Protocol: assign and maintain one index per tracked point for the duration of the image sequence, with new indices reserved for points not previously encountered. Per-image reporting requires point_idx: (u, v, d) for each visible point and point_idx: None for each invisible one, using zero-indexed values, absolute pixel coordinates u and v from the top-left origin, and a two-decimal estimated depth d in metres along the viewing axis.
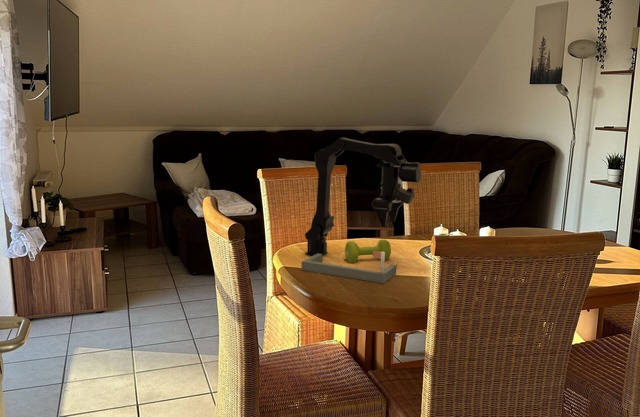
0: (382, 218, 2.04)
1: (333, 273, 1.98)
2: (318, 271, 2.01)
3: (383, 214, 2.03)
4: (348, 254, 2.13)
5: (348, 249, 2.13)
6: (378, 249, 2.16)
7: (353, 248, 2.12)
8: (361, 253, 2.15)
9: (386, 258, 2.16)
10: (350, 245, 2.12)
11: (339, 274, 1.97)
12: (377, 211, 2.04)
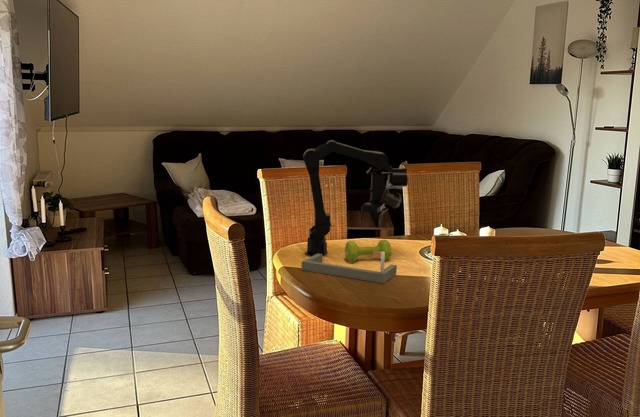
0: (375, 219, 2.22)
1: (333, 273, 1.98)
2: (318, 271, 2.01)
3: (376, 216, 2.21)
4: (347, 254, 2.13)
5: (347, 249, 2.13)
6: (378, 249, 2.16)
7: (353, 248, 2.12)
8: (361, 253, 2.15)
9: (386, 258, 2.16)
10: (349, 245, 2.13)
11: (339, 274, 1.97)
12: (371, 213, 2.21)
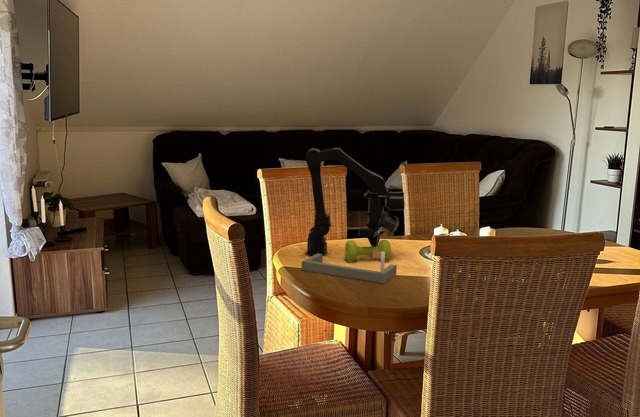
0: (373, 242, 2.22)
1: (333, 273, 1.98)
2: (318, 271, 2.01)
3: (374, 239, 2.21)
4: (346, 253, 2.14)
5: (347, 248, 2.14)
6: (378, 249, 2.16)
7: (352, 248, 2.13)
8: (360, 253, 2.15)
9: (386, 259, 2.16)
10: (348, 244, 2.13)
11: (339, 274, 1.97)
12: (368, 236, 2.21)
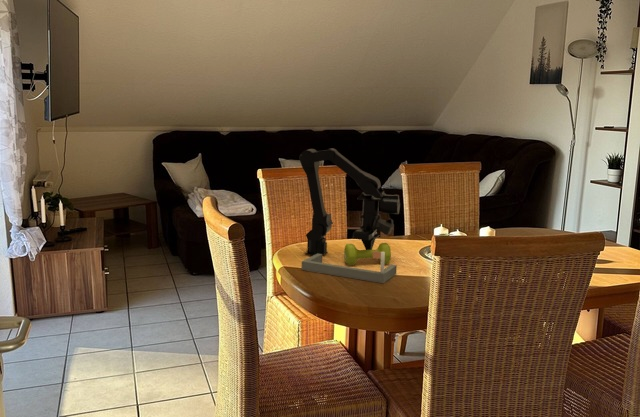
0: (367, 245, 2.17)
1: (333, 273, 1.98)
2: (318, 271, 2.01)
3: (368, 242, 2.16)
4: (346, 256, 2.10)
5: (346, 251, 2.09)
6: None
7: (351, 251, 2.08)
8: (360, 256, 2.11)
9: (386, 262, 2.11)
10: (348, 247, 2.09)
11: (339, 274, 1.97)
12: None
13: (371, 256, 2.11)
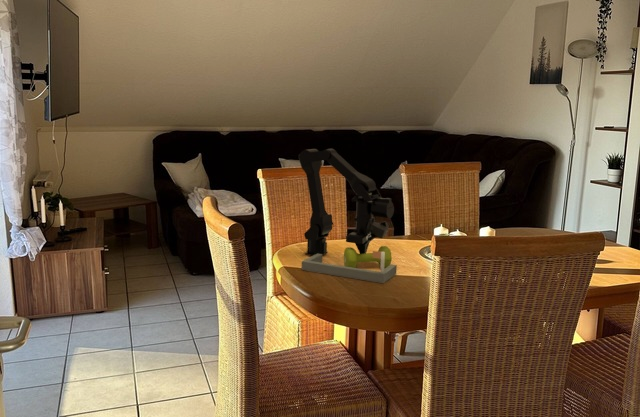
0: (361, 249, 2.12)
1: (333, 273, 1.98)
2: (318, 271, 2.01)
3: (362, 245, 2.11)
4: (346, 261, 2.04)
5: (346, 255, 2.04)
6: None
7: (351, 255, 2.03)
8: (360, 260, 2.06)
9: (386, 266, 2.07)
10: (348, 251, 2.04)
11: (339, 274, 1.97)
12: (356, 242, 2.11)
13: (371, 260, 2.07)
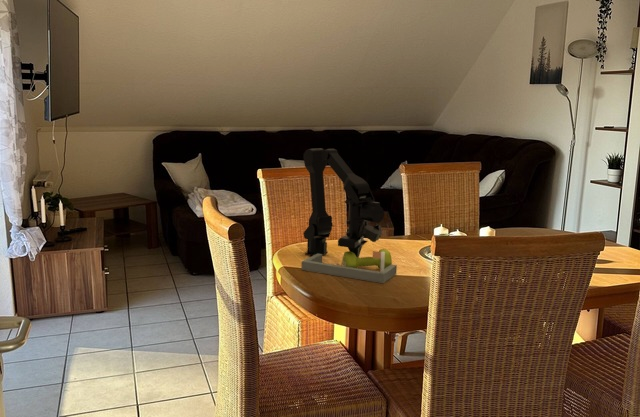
0: (354, 253, 2.06)
1: (333, 273, 1.98)
2: (318, 271, 2.01)
3: (355, 249, 2.06)
4: (346, 265, 1.99)
5: (346, 260, 1.99)
6: (378, 260, 2.02)
7: (351, 259, 1.98)
8: (360, 264, 2.01)
9: None
10: (348, 255, 1.98)
11: (339, 274, 1.97)
12: None
13: (371, 264, 2.02)
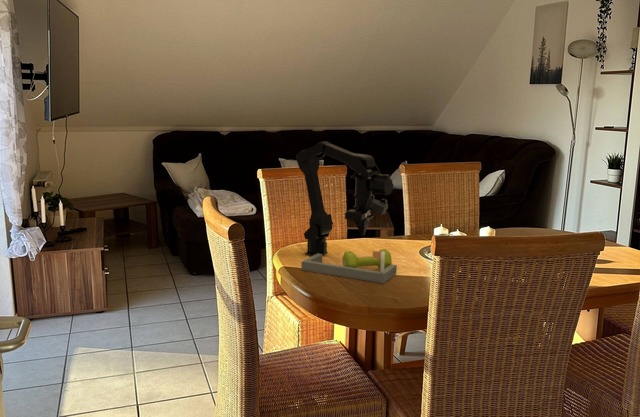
0: (360, 227, 2.08)
1: (333, 273, 1.98)
2: (318, 271, 2.01)
3: (361, 223, 2.08)
4: (345, 265, 1.99)
5: (345, 260, 1.99)
6: (378, 260, 2.02)
7: (351, 259, 1.98)
8: (359, 264, 2.01)
9: None
10: (348, 255, 1.99)
11: (339, 274, 1.97)
12: (355, 220, 2.08)
13: (371, 264, 2.02)
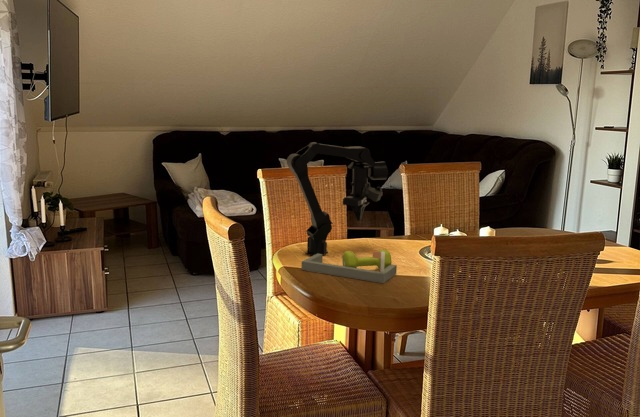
0: (357, 213, 2.26)
1: (333, 273, 1.98)
2: (318, 271, 2.01)
3: (358, 209, 2.25)
4: (345, 265, 1.99)
5: (345, 259, 1.99)
6: (378, 260, 2.02)
7: (351, 259, 1.98)
8: (359, 264, 2.01)
9: None
10: (347, 255, 1.99)
11: (339, 274, 1.97)
12: (353, 206, 2.25)
13: (371, 264, 2.02)
